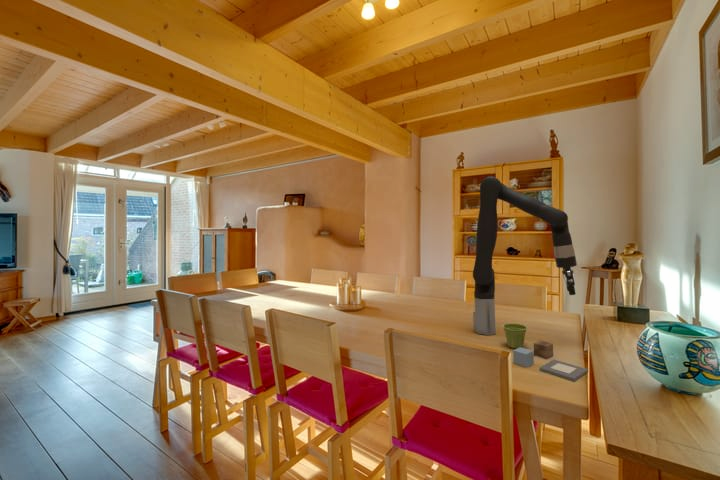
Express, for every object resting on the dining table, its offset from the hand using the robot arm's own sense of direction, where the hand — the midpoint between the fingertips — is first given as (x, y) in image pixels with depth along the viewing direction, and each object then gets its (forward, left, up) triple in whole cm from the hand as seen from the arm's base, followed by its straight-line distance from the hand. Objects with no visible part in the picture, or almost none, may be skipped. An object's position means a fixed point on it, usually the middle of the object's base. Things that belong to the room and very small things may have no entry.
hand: (571, 292), depth 138 cm
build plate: (+10, -32, -22) cm, 40 cm away
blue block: (-2, -36, -22) cm, 42 cm away
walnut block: (-1, -23, -22) cm, 32 cm away
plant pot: (-13, -22, -22) cm, 34 cm away
